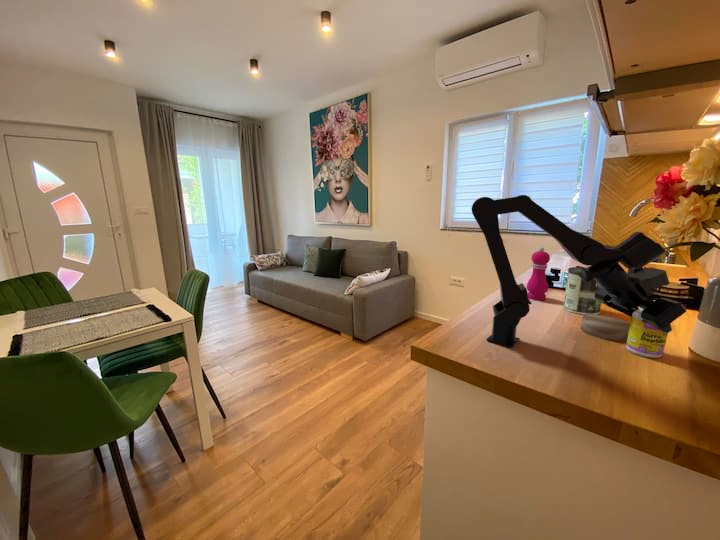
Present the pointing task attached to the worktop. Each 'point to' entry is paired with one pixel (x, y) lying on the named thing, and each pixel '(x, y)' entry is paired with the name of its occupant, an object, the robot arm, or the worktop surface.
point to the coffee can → (581, 294)
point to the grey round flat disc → (605, 327)
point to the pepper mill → (538, 275)
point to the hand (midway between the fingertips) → (655, 325)
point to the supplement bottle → (645, 337)
